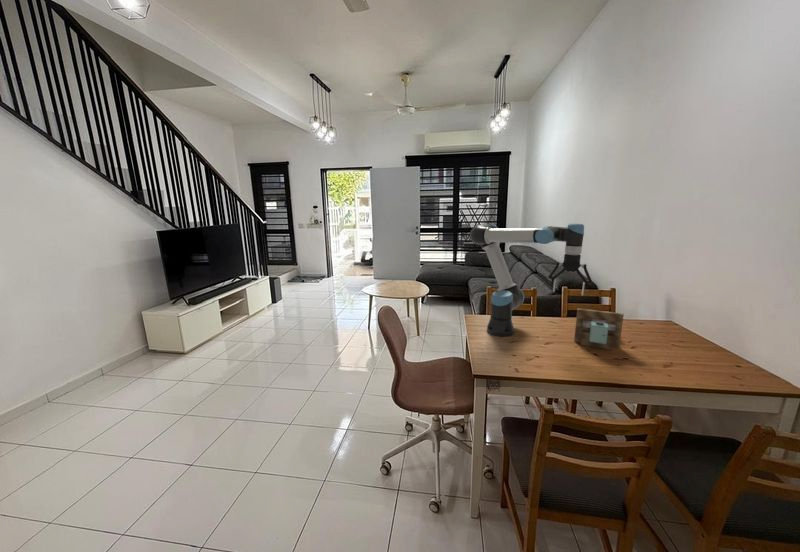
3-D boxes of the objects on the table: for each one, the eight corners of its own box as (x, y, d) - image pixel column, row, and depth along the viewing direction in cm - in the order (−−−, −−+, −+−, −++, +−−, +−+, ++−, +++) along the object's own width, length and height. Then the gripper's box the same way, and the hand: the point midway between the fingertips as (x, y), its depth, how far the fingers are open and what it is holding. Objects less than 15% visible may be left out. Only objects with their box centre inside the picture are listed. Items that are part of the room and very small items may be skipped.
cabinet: (589, 342, 158) (591, 323, 155) (589, 334, 166) (591, 316, 163) (606, 344, 155) (608, 325, 152) (605, 337, 162) (607, 318, 159)
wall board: (574, 343, 167) (577, 311, 163) (574, 337, 174) (577, 306, 170) (619, 350, 158) (624, 316, 154) (618, 344, 165) (622, 311, 161)
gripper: (545, 252, 167) (541, 291, 172) (601, 256, 155) (595, 298, 160) (547, 251, 174) (543, 288, 179) (600, 254, 162) (594, 294, 167)
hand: (567, 293), depth 169 cm, fingers open, 13 cm apart
